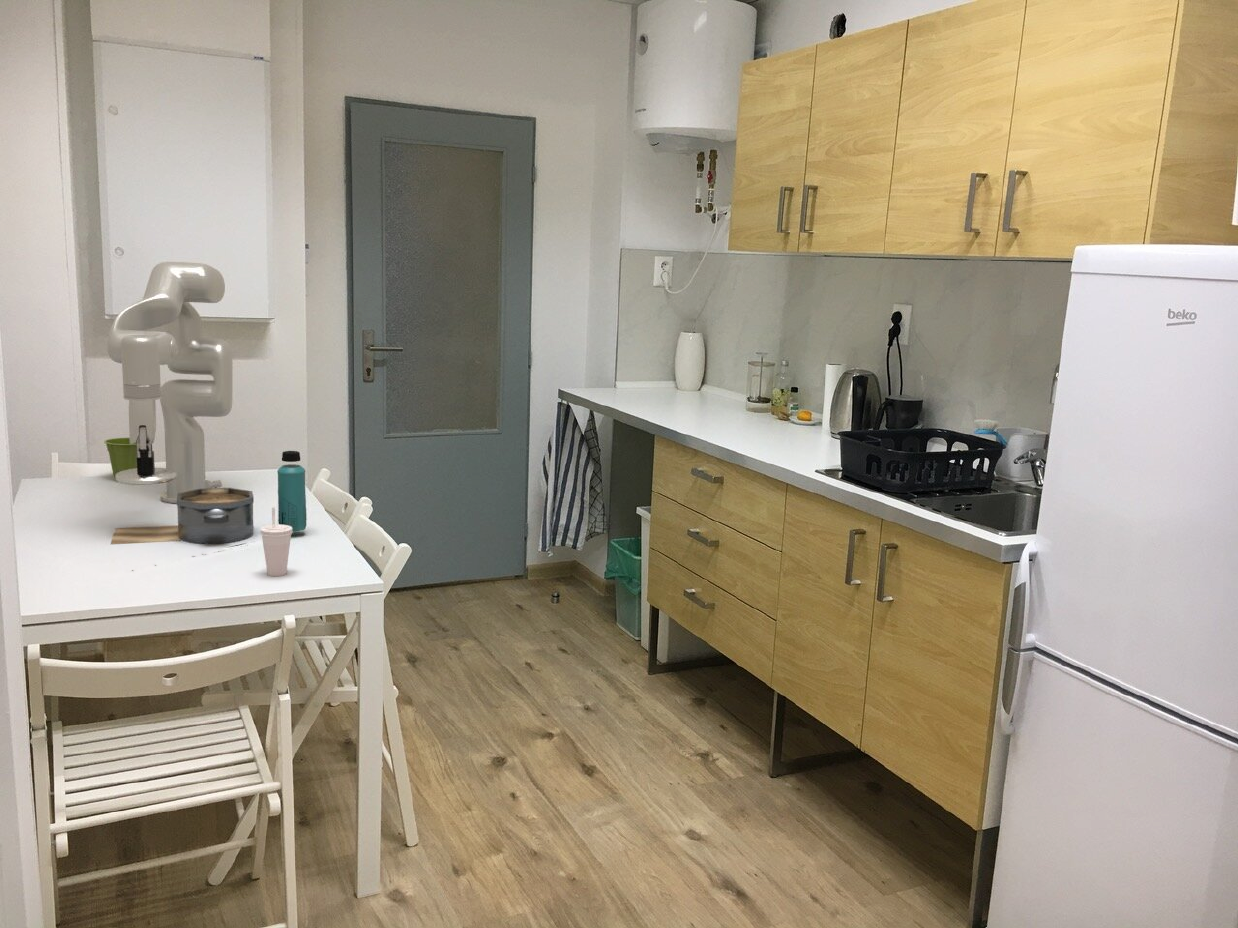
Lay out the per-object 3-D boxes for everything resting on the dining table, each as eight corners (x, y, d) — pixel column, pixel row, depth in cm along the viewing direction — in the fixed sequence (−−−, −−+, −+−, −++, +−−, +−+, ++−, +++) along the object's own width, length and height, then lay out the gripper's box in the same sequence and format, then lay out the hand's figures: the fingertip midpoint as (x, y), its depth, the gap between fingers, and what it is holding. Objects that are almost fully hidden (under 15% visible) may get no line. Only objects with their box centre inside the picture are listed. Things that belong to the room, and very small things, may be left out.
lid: (155, 469, 237) (153, 444, 236) (187, 478, 231) (186, 452, 229) (104, 477, 227) (102, 451, 225) (136, 487, 220) (135, 460, 219)
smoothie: (265, 568, 213) (264, 503, 210) (296, 569, 213) (295, 504, 211) (256, 577, 206) (255, 510, 204) (289, 578, 207) (288, 511, 204)
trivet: (115, 532, 234) (115, 528, 234) (181, 529, 239) (181, 525, 239) (110, 548, 221) (110, 544, 221) (180, 545, 227) (180, 540, 226)
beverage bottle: (312, 533, 242) (312, 450, 238) (295, 539, 236) (294, 454, 232) (289, 529, 244) (288, 447, 240) (271, 536, 238) (270, 451, 234)
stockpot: (179, 529, 239) (178, 487, 237) (251, 526, 245) (250, 484, 243) (177, 553, 220) (176, 507, 219) (255, 549, 226) (255, 504, 225)
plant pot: (139, 485, 282) (138, 445, 280) (97, 482, 282) (95, 443, 280) (159, 476, 294) (158, 438, 292) (118, 474, 294) (117, 436, 292)
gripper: (125, 385, 230) (129, 464, 234) (120, 397, 215) (125, 481, 219) (162, 385, 233) (165, 463, 237) (159, 397, 218) (163, 480, 222)
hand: (145, 471), depth 228 cm, fingers closed on lid, 3 cm apart
